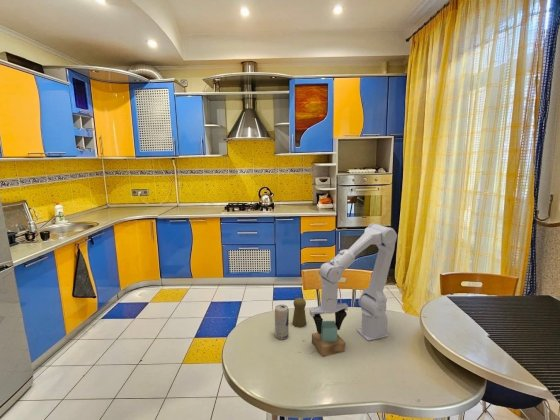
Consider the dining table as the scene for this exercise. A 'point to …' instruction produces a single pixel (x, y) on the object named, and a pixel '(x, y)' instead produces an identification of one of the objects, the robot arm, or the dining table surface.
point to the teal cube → (329, 331)
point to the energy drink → (281, 321)
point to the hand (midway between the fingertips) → (328, 330)
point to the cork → (299, 313)
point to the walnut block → (328, 345)
